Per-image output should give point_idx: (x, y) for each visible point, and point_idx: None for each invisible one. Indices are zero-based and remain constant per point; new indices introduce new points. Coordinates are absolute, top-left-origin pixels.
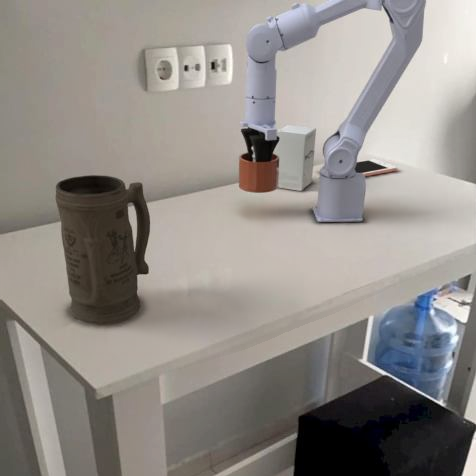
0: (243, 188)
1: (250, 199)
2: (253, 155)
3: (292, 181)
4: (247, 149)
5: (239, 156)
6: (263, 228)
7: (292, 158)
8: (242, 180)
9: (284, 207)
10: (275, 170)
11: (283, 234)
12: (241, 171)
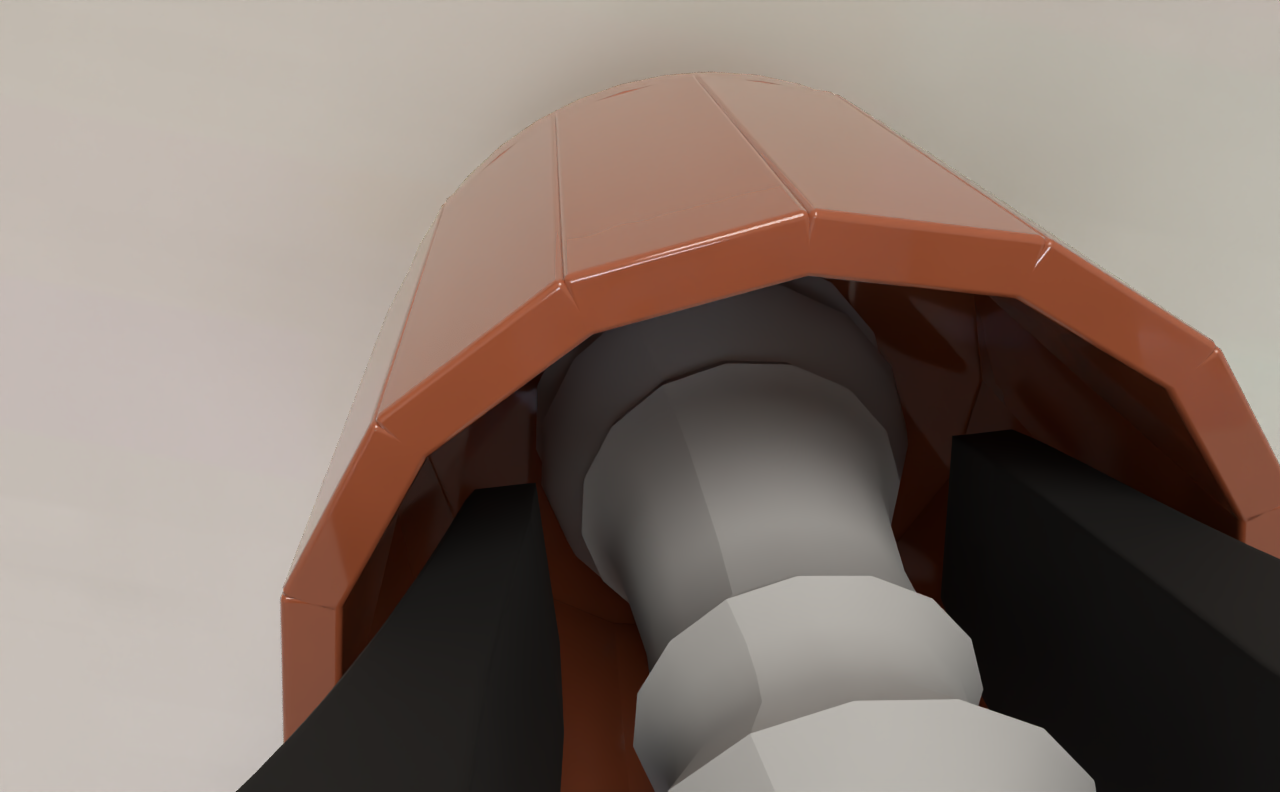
0: (542, 121)
1: (1127, 259)
2: (801, 619)
3: None
4: (1256, 567)
5: (997, 246)
6: (180, 219)
7: None
8: (571, 135)
9: None
10: None
11: (4, 388)
12: (635, 162)
